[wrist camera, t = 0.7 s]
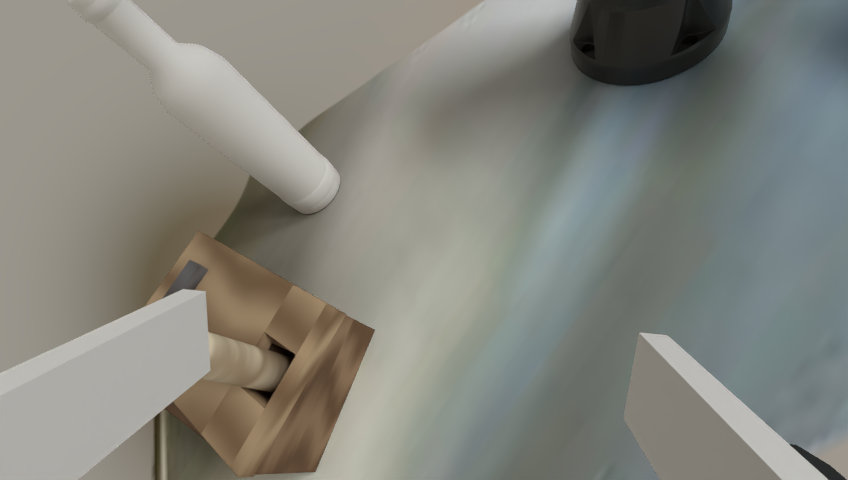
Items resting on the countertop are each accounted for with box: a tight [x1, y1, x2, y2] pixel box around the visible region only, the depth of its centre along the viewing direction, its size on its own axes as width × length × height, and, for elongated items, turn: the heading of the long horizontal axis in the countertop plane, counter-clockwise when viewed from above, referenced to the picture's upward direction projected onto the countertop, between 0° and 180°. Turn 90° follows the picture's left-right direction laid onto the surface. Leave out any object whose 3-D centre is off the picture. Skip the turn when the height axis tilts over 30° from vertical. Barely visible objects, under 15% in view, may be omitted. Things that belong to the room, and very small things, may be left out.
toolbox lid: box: [145, 231, 346, 477], centre depth 38 cm, size 14×24×3 cm, turn 59°
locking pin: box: [201, 332, 293, 393], centre depth 32 cm, size 3×3×14 cm
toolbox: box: [165, 316, 375, 474], centre depth 43 cm, size 14×24×8 cm, turn 67°
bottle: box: [67, 0, 340, 214], centre depth 43 cm, size 8×8×30 cm
